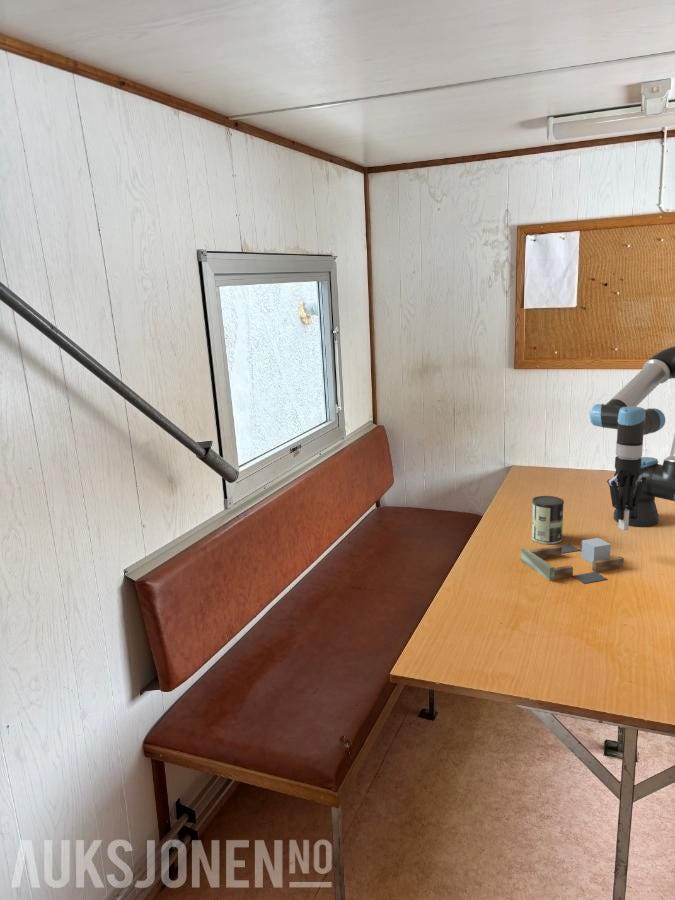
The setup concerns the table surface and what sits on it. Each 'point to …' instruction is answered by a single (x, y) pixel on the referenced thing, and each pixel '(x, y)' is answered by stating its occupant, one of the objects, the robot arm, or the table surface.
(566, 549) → the mat
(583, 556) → the block
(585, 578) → the mat
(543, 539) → the coffee can
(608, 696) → the table surface
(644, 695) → the table surface
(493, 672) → the table surface
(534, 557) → the lane
